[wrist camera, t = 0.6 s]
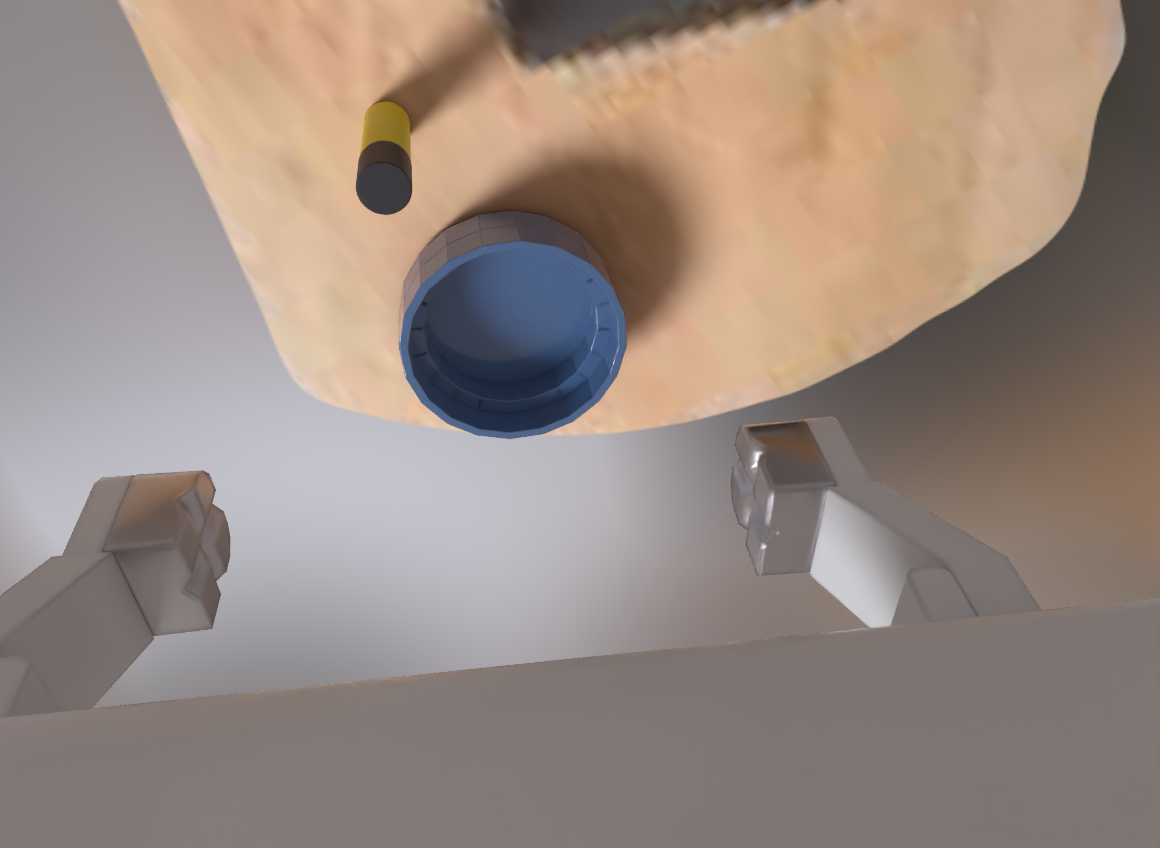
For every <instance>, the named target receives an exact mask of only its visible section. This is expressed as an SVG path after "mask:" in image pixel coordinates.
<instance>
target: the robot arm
mask: <svg viewBox="0 0 1160 848" xmlns="http://www.w3.org/2000/svg"><path fill="white" fill-rule="evenodd" d="M735 447H736V450H737V452H738V455H739V458H740V459H739V461H738V462H737V463H736V464H735V465H734V466H733V467H732V476H731V493H732V502H733V508H734V512H735V515H736V518H737V521H738V524H739V525H741V526H742V527H743V528H745V529H746V530H747V531H748V532H747V539H746V547H747V550H748V552H749V555H750V558H751V560H752V563H753V566H754V569H755V572H756V574H757V576H762V575H777V574H790V573H805V572H810V575H811V576H812V577H813V578H814V579H815V580H817V581H818V582H819V583H820V584H821V585H822V586H823V587H824V588H825V589H827V590H828V591H829V592H830V593H831V594H832V595H833V596H835V597H836V598H837V599H838V600H839V601H840V602H841V603H843V604H844V605H845V606H846V607H847V608H848V609H849V610H851V611H852V612H853V613H854V614H855V615H856V616H858V617H859V618H860V619H861V620H862V621H863V622H864V623H865V624H867V625H868V626H869V627H870V628H864V629H854V630H845V631H835V632H825V633H816V634H806V635H797V636H787V637H778V638H769V639H760V640H750V641H741V642H731V643H722V644H712V645H702V646H692V647H682V648H673V649H662V650H653V651H643V652H633V653H624V654H613V655H603V656H593V657H583V658H574V659H564V660H554V661H544V662H535V663H526V664H516V665H506V666H496V667H487V668H477V669H468V670H458V671H448V672H439V673H429V674H420V675H411V676H401V677H391V678H382V679H372V680H363V681H352V682H343V683H334V684H324V685H315V686H304V687H294V688H285V689H276V690H267V691H266V690H265V691H256V692H246V693H236V694H227V695H218V696H207V697H198V698H189V699H178V700H169V701H160V702H149V703H140V704H130V705H120V706H111V707H101V708H93V707H94V705H95V704H96V703H97V702H98V701H99V700H100V699H101V697H103V695H104V694H105V693H106V692H107V691H108V690H109V689H110V688H111V687H112V685H113V684H114V683H115V682H116V681H117V680H118V679H119V677H120V676H121V675H122V674H123V673H124V672H125V671H126V670H127V669H128V667H129V666H130V665H131V664H132V663H133V662H134V661H135V660H136V659H137V657H138V656H139V655H140V654H141V653H142V652H143V651H144V650H145V649H146V647H147V646H148V645H149V644H150V643H151V642H152V641H153V639H154V638H153V636H159V635H167V634H175V633H183V632H191V631H200V630H208V629H212V627H213V623H214V619H215V615H216V612H217V608H218V603H219V600H220V596H221V593H220V591H219V588H218V585H217V583H216V581H217V580H218V579H219V578H220V577H221V576H222V575H223V574H224V573H225V572H226V571H227V567H228V563H229V558H230V533H229V528H228V523H227V520H226V517H225V514H224V512H223V511H222V510H221V509H219V508H218V507H216V506H215V505H213V504H212V502H213V498H214V495H215V491H216V489H215V487H214V484H213V482H212V479H211V477H210V475H209V473H207V472H205V471H188V472H172V473H155V474H140V475H136V476H133V475H131V476H116V477H102V478H101V479H100V480H98V481H97V482H96V483H95V484H94V486H93V488H92V490H91V492H90V495H89V497H88V499H87V501H86V504H85V506H84V508H83V510H82V513H81V515H80V517H79V519H78V521H77V524H76V526H75V528H74V530H73V532H72V535H71V537H70V539H69V542H68V544H67V546H66V548H65V550H64V553H63V555H62V556H56V557H51V558H50V559H48V560H47V561H46V562H44V563H43V564H42V565H40V566H39V567H38V568H37V569H35V570H34V571H32V572H31V573H30V574H28V575H27V576H26V577H24V578H23V579H22V580H21V581H19V582H18V583H16V584H15V585H14V586H12V587H11V588H10V589H9V590H7V591H6V592H4V593H3V594H2V595H1V596H0V848H1160V598H1155V599H1145V600H1135V601H1125V602H1116V603H1107V604H1097V605H1087V606H1077V607H1067V608H1058V609H1048V610H1041V608H1040V607H1039V605H1038V604H1037V602H1036V601H1035V599H1034V598H1033V596H1032V594H1031V593H1030V591H1029V590H1028V588H1027V587H1026V585H1025V584H1024V582H1023V581H1022V579H1021V577H1020V576H1019V574H1018V573H1017V571H1016V570H1015V568H1014V567H1013V565H1012V564H1011V562H1010V561H1009V559H1008V557H1006V556H1004V555H1002V554H1001V553H999V552H997V551H996V550H994V549H992V548H991V547H989V546H987V545H986V544H984V543H982V542H981V541H979V540H977V539H975V538H974V537H972V536H970V535H969V534H967V533H965V532H964V531H962V530H960V529H959V528H957V527H955V526H953V525H952V524H950V523H948V522H947V521H945V520H943V519H942V518H940V517H938V516H937V515H935V514H933V513H931V512H930V511H928V510H926V509H925V508H923V507H921V506H920V505H918V504H916V503H915V502H913V501H911V500H909V499H908V498H906V497H904V496H903V495H901V494H899V493H898V492H896V491H894V490H893V489H891V488H889V487H887V486H886V485H884V484H882V483H881V482H880V483H872V482H871V481H870V479H869V477H868V475H867V473H866V472H865V470H864V468H863V466H862V464H861V463H860V461H859V459H858V457H857V455H856V453H855V452H854V450H853V448H852V446H851V444H850V442H849V441H848V439H847V437H846V435H845V433H844V431H843V430H842V428H841V426H840V424H839V422H838V421H837V420H836V419H835V418H834V417H822V418H814V419H813V418H812V419H803V420H801V421H789V422H778V423H766V424H756V425H744V426H739V429H738V432H737V435H736V443H735Z"/></svg>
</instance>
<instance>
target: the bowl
mask: <svg viewBox="0 0 1160 848" xmlns="http://www.w3.org/2000/svg"><path fill="white" fill-rule="evenodd" d="M626 346H627V343H626V319H625V314H624V311H623V309H622V306H621V304H620V301H619V299H618V296H617V294H616V291H615V289H614V287H613V284H612V282H611V279H610V277H609V275H608V272H607V270H606V268H605V265H604V263H603V261H602V258H601V256H600V255H599V254H598V253H597V252H596V251H595V249H594V248H593V247H592V246H591V245H590V244H589V243H588V242H587V241H586V240H585V239H584V238H583V237H582V236H581V235H580V233H578V232H577V231H575V230H573V229H571V228H569V227H567V226H565V225H564V224H562V223H560V222H558V221H556V220H554V219H552V218H550V217H548V216H542V215H537V214H531V213H525V212H520V211H505V212H497V213H489V214H481V215H477V216H474V217H472V218H470V219H468V220H465V221H463V222H461V223H459V224H457V225H454V226H452V227H450V228H448V229H446V230H444V231H443V232H442V233H441V234H440V235H439V236H438V237H437V238H436V239H434V240H433V241H432V242H431V243H430V244H429V245H428V246H427V247H426V248H425V249H423V250H422V251H421V252H420V253H419V255H418V257H417V258H416V260H415V262H414V264H413V266H412V268H411V269H410V271H409V273H408V275H407V277H406V278H405V280H404V284H403V290H402V297H401V303H400V310H399V350H400V355H401V359H402V364H403V369H404V373H405V377H406V379H407V381H408V382H409V384H410V385H411V387H412V389H413V390H414V392H415V393H416V395H417V396H418V398H419V400H420V401H421V403H423V405H425V406H426V407H427V408H428V409H430V410H431V411H432V412H433V413H435V414H436V415H437V416H438V417H440V418H441V419H442V420H443V421H445V422H446V423H447V424H450V425H452V426H455V427H457V428H460V429H462V430H465V431H467V432H470V433H472V434H475V435H479V436H488V437H497V438H506V439H513V438H520V437H527V436H534V435H540V434H545V433H547V432H550V431H552V430H554V429H557V428H559V427H561V426H564V425H566V424H569V423H571V422H573V421H575V420H576V419H577V418H578V417H580V416H581V415H582V414H583V413H585V412H586V411H587V410H589V409H590V408H591V407H592V406H594V405H595V404H596V403H598V402H599V401H600V399H601V398H602V397H603V395H604V394H605V392H606V391H607V390H608V388H609V387H610V385H611V384H612V383H613V381H614V380H615V378H616V377H617V375H618V372H619V369H620V366H621V363H622V359H623V356H624V353H625V350H626Z"/></svg>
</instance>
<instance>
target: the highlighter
mask: <svg viewBox="0 0 1160 848" xmlns="http://www.w3.org/2000/svg"><path fill="white" fill-rule="evenodd" d="M356 192H357V195H358V198H359V200H360V201H361V203H362V204H363V205H364V206H365V207H366V208H368V209H369V210H371V211H372V212H375V213H378V214H384V215H387V214H394V213H396V212H399V211H400V210H402V209H403V208H404V207H405V206H406V205H407V204H408V202H409V200H410V198H411V195H412V166H411V155H410V121H409V118H408V115H407V113H406V112H405V111H404V109H403V108H401V107H400V106H399V105H397V104H395V103H393V102H387V101H383V102H379V103H376V104H374V105H373V106H371V107H370V108H369V109H368V111H367V113H366V115H365V119H364V127H363V136H362V145H361V153H360V157H359V163H358V171H357V180H356Z"/></svg>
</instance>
